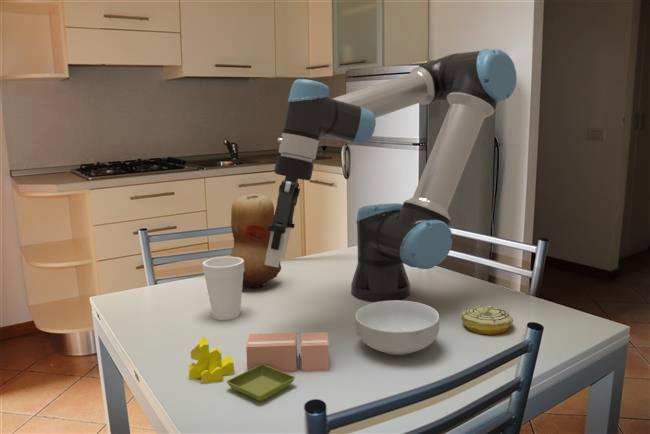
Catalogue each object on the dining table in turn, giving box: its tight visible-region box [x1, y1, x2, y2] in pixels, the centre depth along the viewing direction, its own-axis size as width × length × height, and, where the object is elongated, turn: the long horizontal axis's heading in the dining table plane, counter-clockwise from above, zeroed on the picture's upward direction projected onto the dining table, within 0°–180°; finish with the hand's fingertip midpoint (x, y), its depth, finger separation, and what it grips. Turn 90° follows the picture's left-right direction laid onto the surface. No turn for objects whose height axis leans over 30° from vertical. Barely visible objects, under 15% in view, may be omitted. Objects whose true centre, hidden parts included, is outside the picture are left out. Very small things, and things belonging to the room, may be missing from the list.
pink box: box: [300, 331, 330, 372], centre depth 108 cm, size 5×6×5 cm
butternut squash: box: [229, 193, 282, 288], centre depth 154 cm, size 14×13×25 cm
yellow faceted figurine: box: [188, 335, 235, 384], centre depth 104 cm, size 6×8×8 cm
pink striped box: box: [245, 332, 301, 372], centre depth 108 cm, size 10×6×5 cm, turn 92°
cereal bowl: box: [354, 299, 441, 356], centre depth 114 cm, size 17×17×7 cm
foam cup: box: [202, 256, 244, 321], centre depth 133 cm, size 10×9×13 cm
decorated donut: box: [461, 305, 514, 336], centre depth 124 cm, size 10×11×4 cm
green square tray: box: [226, 364, 296, 402], centre depth 99 cm, size 9×9×2 cm
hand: (275, 261), depth 116 cm, fingers open, 13 cm apart
